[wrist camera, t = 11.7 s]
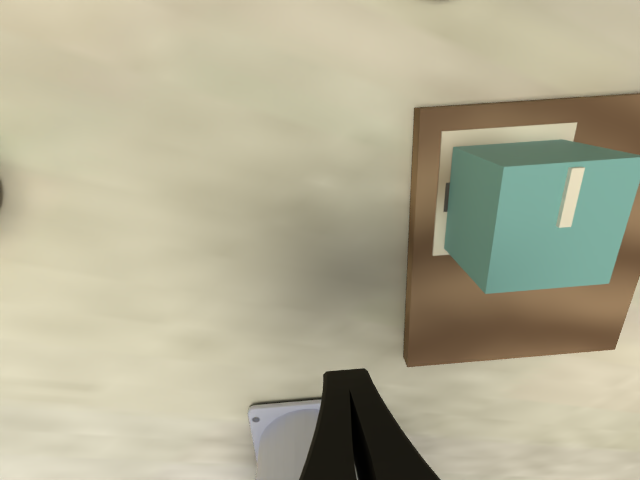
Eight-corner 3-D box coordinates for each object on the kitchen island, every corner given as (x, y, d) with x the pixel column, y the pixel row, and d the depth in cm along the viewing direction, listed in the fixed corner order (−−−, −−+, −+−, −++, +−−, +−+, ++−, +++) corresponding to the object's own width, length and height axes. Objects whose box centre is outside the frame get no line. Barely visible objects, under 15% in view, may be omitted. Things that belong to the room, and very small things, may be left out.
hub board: (603, 339, 25) (660, 387, 21) (403, 356, 25) (423, 408, 21) (682, 90, 19) (785, 92, 15) (414, 107, 18) (446, 114, 14)
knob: (541, 240, 20) (612, 285, 16) (444, 248, 20) (487, 296, 16) (562, 139, 18) (651, 157, 14) (452, 146, 18) (506, 168, 13)
